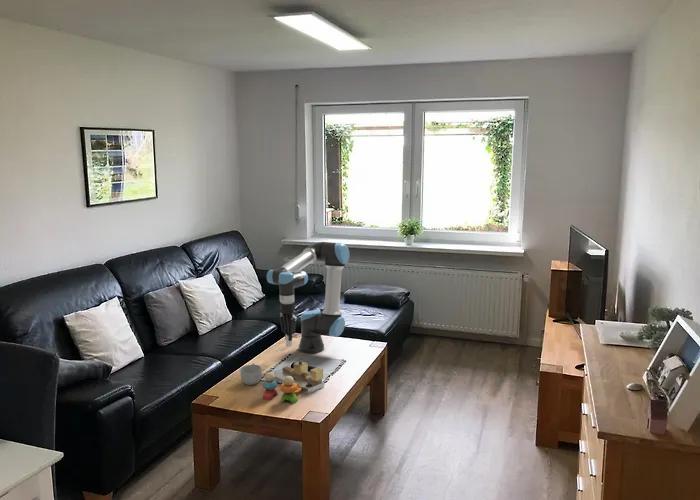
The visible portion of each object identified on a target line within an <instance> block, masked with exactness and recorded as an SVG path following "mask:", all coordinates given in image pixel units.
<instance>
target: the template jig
mask: <svg viewBox="0 0 700 500" xmlns="http://www.w3.org/2000/svg"><path fill="white" fill-rule="evenodd" d="M293 369H294V367H293V368H292V367H290V366H284V367H282V370H281V371H279V372H277V373H273V374H274V375H275V379H274V380H275V381H277V382H276V383H280V384H281V383H284V378H285V377H286V376H291V377H292V373H289V371H291V370H293ZM309 372H310V373H308V372H307V373H304V374H302V375H299V374H297V373H294V383H296V384H297V386H299V387H301V392H302V393H305V394H307V395H310V394H312V393H313V392H316V391H318V390H320V389H323V388H325V382H324V381H323V379H324V368H322V367H321V368H320V367H318V366H317V367H314V368H312V369H310V370H309Z"/></svg>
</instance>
